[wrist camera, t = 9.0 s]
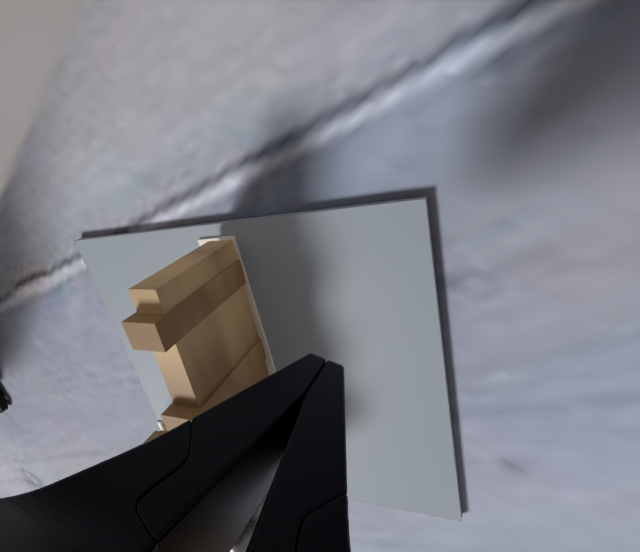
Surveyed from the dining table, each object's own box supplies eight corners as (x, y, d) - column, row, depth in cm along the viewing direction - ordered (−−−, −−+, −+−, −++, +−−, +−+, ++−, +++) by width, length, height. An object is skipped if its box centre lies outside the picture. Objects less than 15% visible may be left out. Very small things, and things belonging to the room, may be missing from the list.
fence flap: (287, 435, 17) (234, 530, 14) (263, 431, 18) (206, 522, 14) (234, 240, 14) (144, 298, 10) (206, 241, 14) (111, 297, 11)
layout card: (182, 461, 23) (178, 467, 22) (80, 238, 18) (72, 241, 17) (461, 514, 16) (461, 524, 16) (426, 196, 11) (425, 199, 11)
